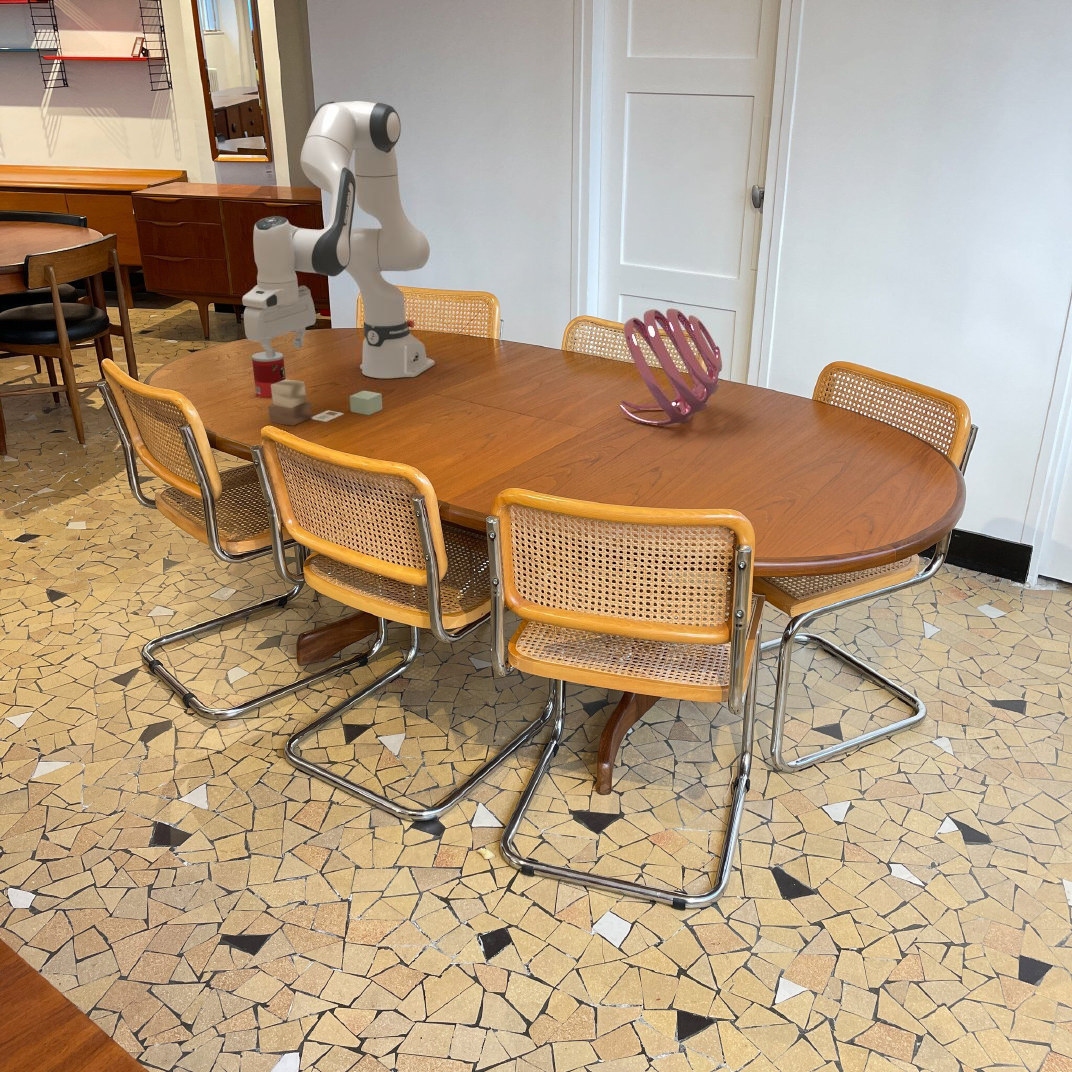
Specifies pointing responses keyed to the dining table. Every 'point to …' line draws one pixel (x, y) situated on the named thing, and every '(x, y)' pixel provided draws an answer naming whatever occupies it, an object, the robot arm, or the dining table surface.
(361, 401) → the sage cube
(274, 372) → the canned food
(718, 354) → the spiral basket
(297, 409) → the walnut base
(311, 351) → the dining table surface
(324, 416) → the board
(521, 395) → the dining table surface
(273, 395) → the birch cube
